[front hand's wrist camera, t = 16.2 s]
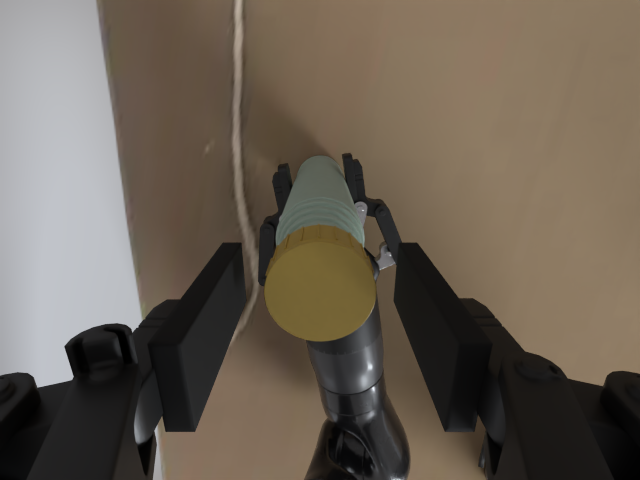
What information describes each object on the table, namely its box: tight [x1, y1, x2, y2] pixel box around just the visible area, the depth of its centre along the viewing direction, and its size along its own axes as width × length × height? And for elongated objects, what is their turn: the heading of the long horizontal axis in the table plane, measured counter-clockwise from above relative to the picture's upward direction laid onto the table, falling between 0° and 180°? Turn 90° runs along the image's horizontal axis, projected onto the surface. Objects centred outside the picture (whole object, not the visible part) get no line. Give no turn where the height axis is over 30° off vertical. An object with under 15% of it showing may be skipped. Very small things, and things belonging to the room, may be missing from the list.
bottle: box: [276, 155, 364, 248], centre depth 24 cm, size 5×5×24 cm
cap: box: [264, 224, 376, 341], centre depth 14 cm, size 4×4×2 cm
